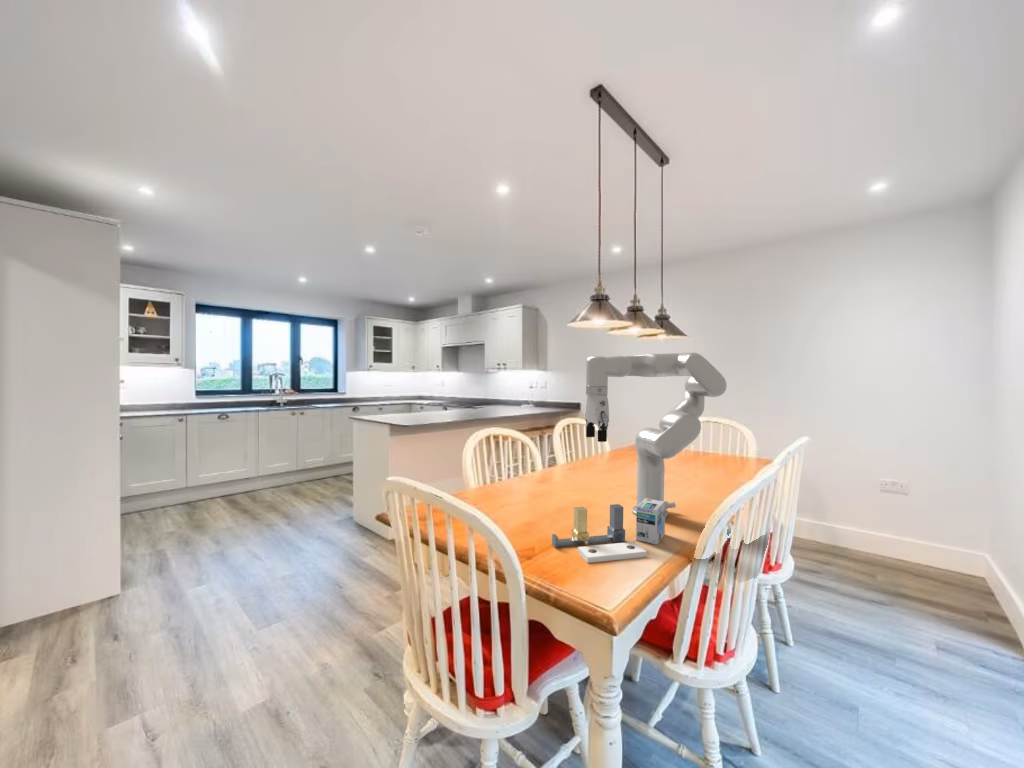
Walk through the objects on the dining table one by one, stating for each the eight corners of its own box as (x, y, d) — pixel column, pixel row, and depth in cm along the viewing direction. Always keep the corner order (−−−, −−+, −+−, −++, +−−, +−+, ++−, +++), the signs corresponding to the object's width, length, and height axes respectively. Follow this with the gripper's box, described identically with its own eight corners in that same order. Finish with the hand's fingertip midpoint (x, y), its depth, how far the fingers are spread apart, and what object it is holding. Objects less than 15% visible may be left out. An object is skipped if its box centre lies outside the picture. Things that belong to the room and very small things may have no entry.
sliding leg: (583, 534, 132) (584, 506, 131) (593, 543, 125) (593, 513, 125) (571, 535, 131) (572, 506, 130) (580, 545, 124) (580, 514, 124)
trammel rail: (618, 537, 135) (619, 503, 134) (629, 546, 128) (630, 510, 127) (551, 543, 129) (551, 508, 129) (559, 553, 122) (559, 516, 122)
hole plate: (633, 546, 127) (633, 541, 127) (646, 556, 121) (646, 551, 121) (577, 552, 123) (577, 546, 123) (587, 562, 116) (587, 557, 116)
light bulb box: (657, 545, 129) (658, 510, 128) (635, 540, 132) (635, 506, 132) (665, 534, 138) (666, 501, 137) (644, 529, 141) (644, 497, 141)
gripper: (618, 392, 143) (617, 443, 143) (596, 390, 160) (595, 435, 160) (597, 392, 141) (596, 443, 142) (577, 390, 158) (576, 435, 159)
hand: (596, 439), depth 151 cm, fingers open, 9 cm apart
